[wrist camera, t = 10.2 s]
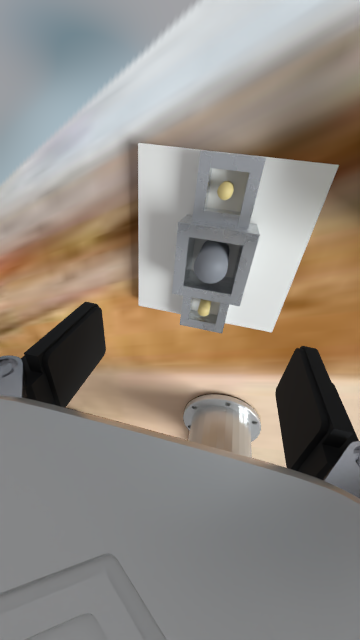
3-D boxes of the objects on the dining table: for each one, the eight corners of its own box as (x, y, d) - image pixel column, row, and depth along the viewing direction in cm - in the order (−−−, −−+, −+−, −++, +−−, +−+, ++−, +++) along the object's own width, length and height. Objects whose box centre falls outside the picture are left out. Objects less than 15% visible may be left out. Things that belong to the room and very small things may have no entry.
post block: (270, 325, 28) (276, 358, 23) (142, 299, 30) (123, 325, 25) (332, 165, 19) (365, 164, 14) (144, 144, 21) (114, 137, 16)
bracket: (194, 150, 19) (184, 147, 16) (274, 159, 18) (281, 158, 15) (176, 314, 28) (168, 333, 25) (229, 324, 27) (228, 346, 24)
